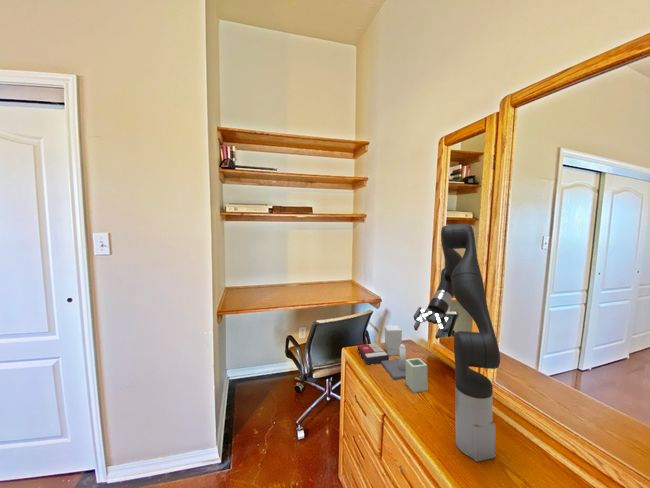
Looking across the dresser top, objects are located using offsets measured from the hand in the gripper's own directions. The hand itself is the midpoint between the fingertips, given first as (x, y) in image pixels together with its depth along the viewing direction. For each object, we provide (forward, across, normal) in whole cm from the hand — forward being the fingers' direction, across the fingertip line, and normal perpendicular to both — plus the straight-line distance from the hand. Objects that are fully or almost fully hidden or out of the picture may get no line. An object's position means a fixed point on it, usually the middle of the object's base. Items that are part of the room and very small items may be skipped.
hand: (425, 333), depth 108 cm
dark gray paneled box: (+11, -25, +23) cm, 36 cm away
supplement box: (+2, -19, +28) cm, 34 cm away
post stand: (+11, -9, +19) cm, 24 cm away
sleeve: (+17, +2, +12) cm, 21 cm away
